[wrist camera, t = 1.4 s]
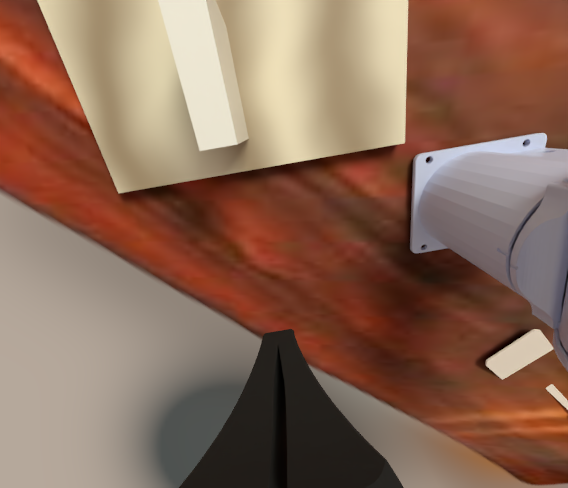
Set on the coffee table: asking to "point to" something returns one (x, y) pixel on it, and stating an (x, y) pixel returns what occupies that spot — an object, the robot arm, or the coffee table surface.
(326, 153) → the board
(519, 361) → the pale flat elongated part
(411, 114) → the coffee table surface
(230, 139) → the tile
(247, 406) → the robot arm
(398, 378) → the coffee table surface
